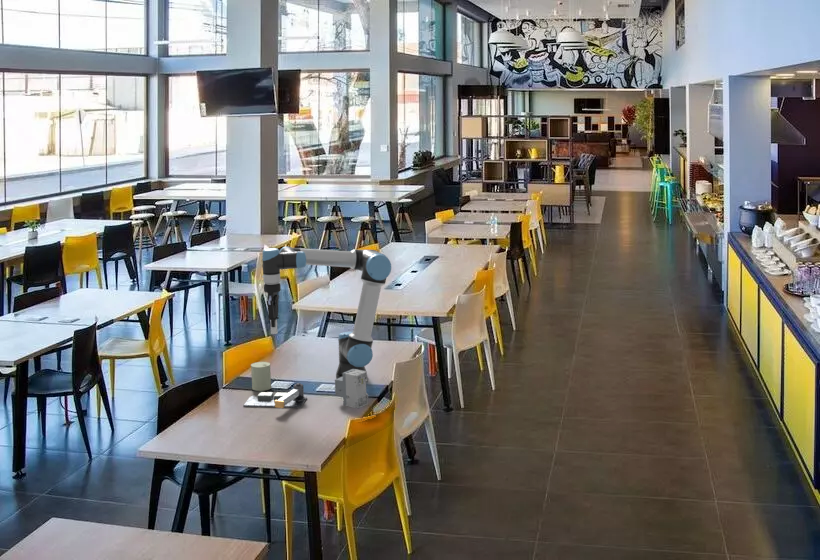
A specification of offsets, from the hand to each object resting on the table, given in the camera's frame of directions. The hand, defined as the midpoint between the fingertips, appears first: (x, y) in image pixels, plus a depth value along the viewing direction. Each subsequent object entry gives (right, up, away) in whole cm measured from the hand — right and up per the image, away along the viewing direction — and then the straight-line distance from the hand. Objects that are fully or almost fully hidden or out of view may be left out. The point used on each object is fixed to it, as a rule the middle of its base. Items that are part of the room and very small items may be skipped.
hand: (274, 333), depth 427 cm
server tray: (+1, -31, -5) cm, 31 cm away
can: (-8, -27, +17) cm, 33 cm away
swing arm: (+9, -31, -11) cm, 34 cm away
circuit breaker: (+35, -31, -7) cm, 47 cm away
